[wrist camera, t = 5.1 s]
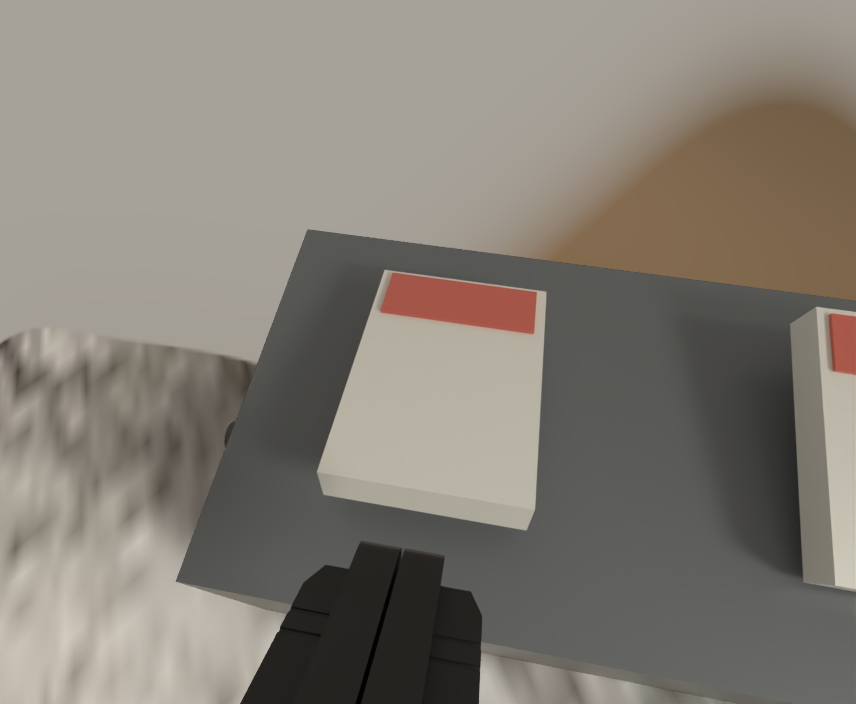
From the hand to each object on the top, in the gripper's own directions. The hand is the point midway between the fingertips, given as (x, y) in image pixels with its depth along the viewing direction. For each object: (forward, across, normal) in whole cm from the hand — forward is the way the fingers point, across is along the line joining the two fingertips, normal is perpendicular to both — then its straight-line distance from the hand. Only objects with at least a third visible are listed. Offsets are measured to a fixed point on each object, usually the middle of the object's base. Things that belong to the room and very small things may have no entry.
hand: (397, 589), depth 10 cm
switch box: (+13, -5, +5) cm, 15 cm away
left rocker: (+6, 0, -2) cm, 6 cm away
